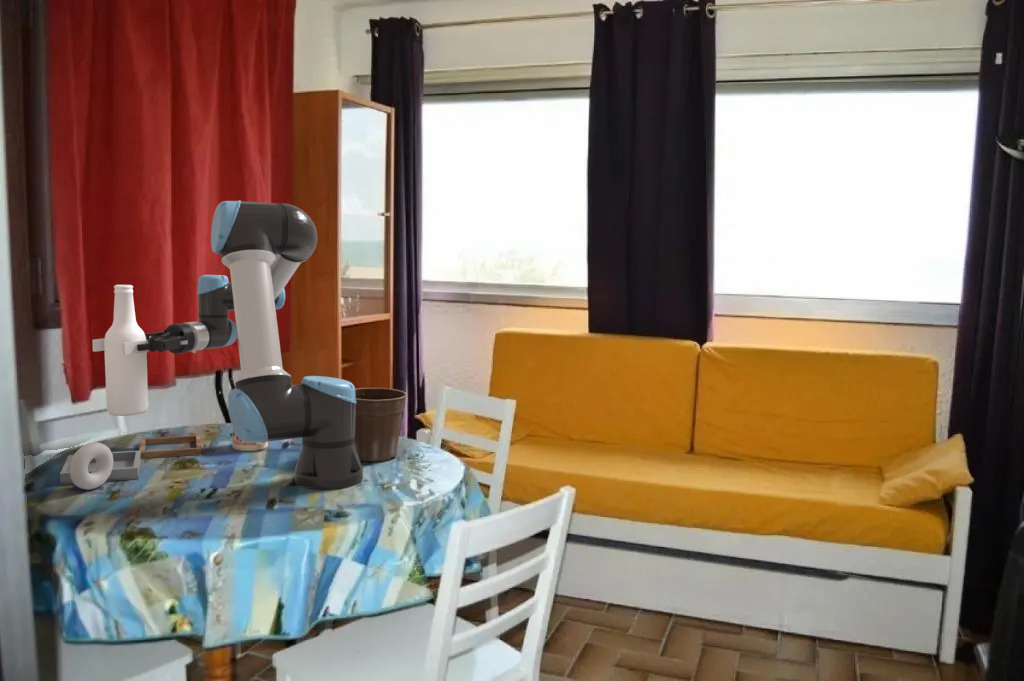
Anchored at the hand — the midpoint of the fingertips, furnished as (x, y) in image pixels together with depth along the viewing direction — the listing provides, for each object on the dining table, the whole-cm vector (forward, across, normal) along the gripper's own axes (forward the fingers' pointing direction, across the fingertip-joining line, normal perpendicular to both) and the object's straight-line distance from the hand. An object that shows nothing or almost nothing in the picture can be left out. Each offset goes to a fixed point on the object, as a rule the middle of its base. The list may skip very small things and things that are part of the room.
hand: (108, 347), depth 177 cm
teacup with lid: (-28, -17, -28) cm, 43 cm away
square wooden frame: (-17, 0, -28) cm, 32 cm away
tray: (+4, -2, -28) cm, 28 cm away
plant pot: (-37, -47, -28) cm, 66 cm away
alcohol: (-5, 0, -16) cm, 17 cm away
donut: (+13, -10, -28) cm, 33 cm away
